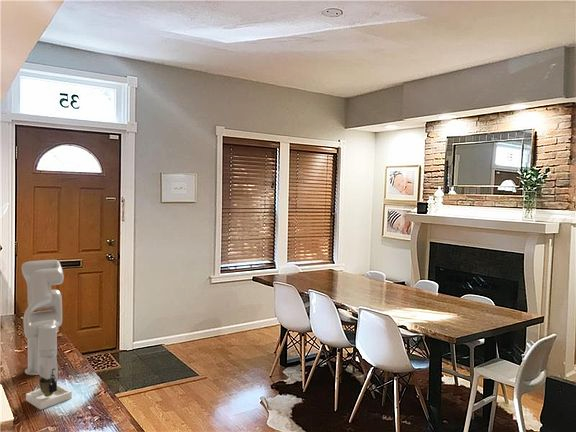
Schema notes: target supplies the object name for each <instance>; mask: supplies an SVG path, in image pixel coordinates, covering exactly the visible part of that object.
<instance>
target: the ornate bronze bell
mask: <svg viewBox="0 0 576 432" xmlns="http://www.w3.org/2000/svg"><path fill="white" fill-rule="evenodd" d="M51 377H53V376H51ZM53 379H54V378H52V379H51V380H53ZM38 384H39V387H40V388H39V389H41V391H42V393H44V396H45V397H49V396H52V395H53V392H52V393H49V384H50V382H49V379H45V378H41V379H40V378H39V383H38Z"/></svg>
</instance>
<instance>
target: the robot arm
mask: <svg viewBox="0 0 576 432" xmlns="http://www.w3.org/2000/svg"><path fill="white" fill-rule="evenodd" d="M21 274H22V276H23V278H24V280H25V283H26V287H27V289H26V290H27V291H26V292H27V293H26V294H27V307H26V309H25V311H24V314H23V334H24V336H25V337H26V338H25V339H27V368H25V370H24V373H25V374H26V375H27V376H38V375H39V376H40V377H39V380H40V379H41V378H45V379H49V382H50V384H49V393H52V392H55V391H57V384H58V379H59V376H58V374H59V373H58V371H59V370H58V360H57V359H58V358H57V355H58V337H57V335H58V331H59V330H60V329H59V328H60V326H62V324H63V297H62V293H61V291H60V290H59V289H52V286H56V285H57V286H59V285H61V284H63V283H64V278H65V276H64V269H63V268H62V265H61V262H60V261H59V260H58V259H44V260H43V259H42V260H41V259H40V260H31V261H25V262H23V263H22V264H21ZM44 309H45V310H44ZM46 309H47V310H46ZM36 310H39V311H36ZM52 376H53V377H52ZM52 378H54V379H53V380H51V379H52Z"/></svg>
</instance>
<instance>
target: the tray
mask: <svg viewBox="0 0 576 432" xmlns="http://www.w3.org/2000/svg"><path fill="white" fill-rule="evenodd" d="M72 392H73V391H71V390H69V389H68V388H66V387H63V386H62V385H60V384H58V383H57V391H55V392H53V395H52V396H49V397H45V396H44V393H42V391H41V389H40V388H39V389H36V390H33V391H31V392H27V393H25V401H26V402H28V403H29V404H31V405H32V406H34V407H35V408H37V409H38V410H43V409H46V408H49V407H51V406H53V405H57V404H60V403H62V402H66V401H68V400H71V399H72V396H73V395H72Z"/></svg>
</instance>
